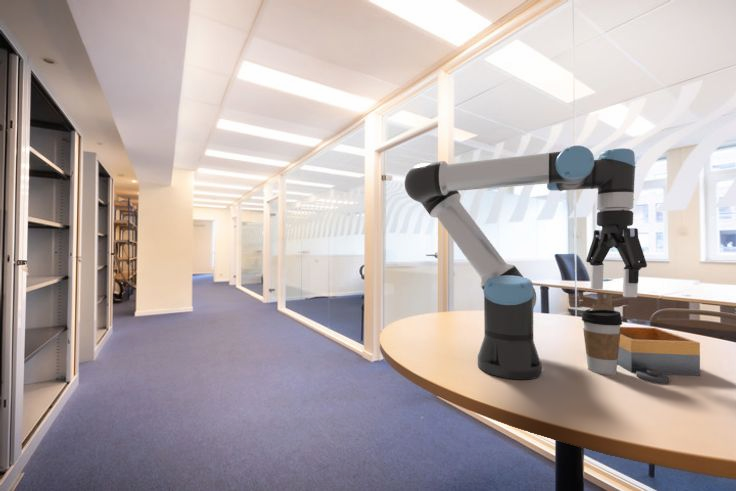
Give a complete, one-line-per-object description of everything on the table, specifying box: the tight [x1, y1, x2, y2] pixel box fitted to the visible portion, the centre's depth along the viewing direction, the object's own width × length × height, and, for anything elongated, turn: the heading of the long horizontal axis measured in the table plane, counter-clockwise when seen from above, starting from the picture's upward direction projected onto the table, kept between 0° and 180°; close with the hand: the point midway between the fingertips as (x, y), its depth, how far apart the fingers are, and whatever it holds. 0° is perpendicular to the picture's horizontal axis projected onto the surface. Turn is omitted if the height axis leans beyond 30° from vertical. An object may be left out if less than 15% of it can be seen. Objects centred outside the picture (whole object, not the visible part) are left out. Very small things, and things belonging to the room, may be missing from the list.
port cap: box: [635, 369, 671, 385], centre depth 78 cm, size 6×6×2 cm
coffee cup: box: [581, 309, 623, 376], centre depth 83 cm, size 8×8×15 cm
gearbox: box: [617, 326, 701, 377], centre depth 88 cm, size 15×15×8 cm
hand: (612, 292), depth 85 cm, fingers open, 13 cm apart
